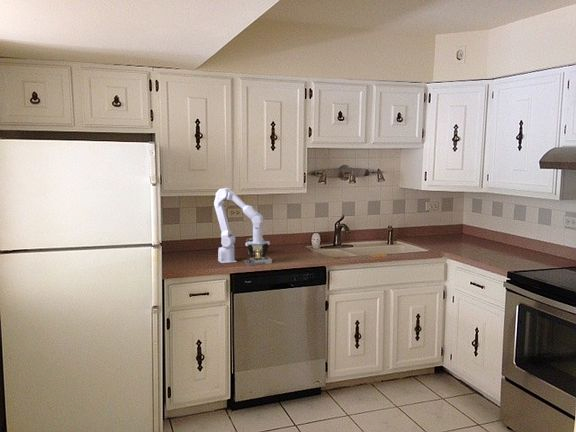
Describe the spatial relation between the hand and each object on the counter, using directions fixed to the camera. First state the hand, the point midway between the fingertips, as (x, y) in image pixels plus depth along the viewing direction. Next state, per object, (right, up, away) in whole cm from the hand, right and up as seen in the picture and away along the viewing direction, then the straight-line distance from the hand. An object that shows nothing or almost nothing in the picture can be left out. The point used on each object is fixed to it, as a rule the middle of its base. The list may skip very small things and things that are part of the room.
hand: (257, 257), depth 305 cm
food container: (-2, 0, +28) cm, 28 cm away
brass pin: (0, -3, +1) cm, 3 cm away
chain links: (0, -3, 0) cm, 3 cm away
